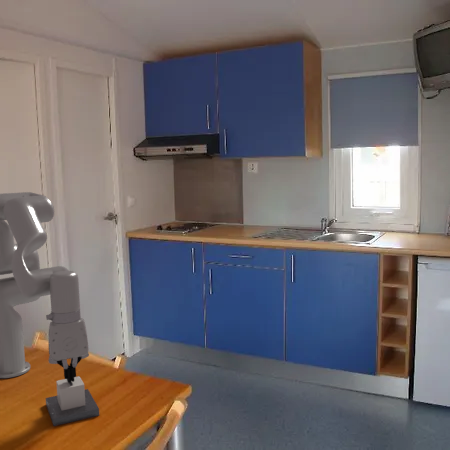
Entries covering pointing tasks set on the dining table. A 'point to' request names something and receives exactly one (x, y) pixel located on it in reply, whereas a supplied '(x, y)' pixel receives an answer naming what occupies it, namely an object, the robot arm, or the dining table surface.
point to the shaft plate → (71, 410)
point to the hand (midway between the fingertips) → (70, 380)
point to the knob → (70, 393)
